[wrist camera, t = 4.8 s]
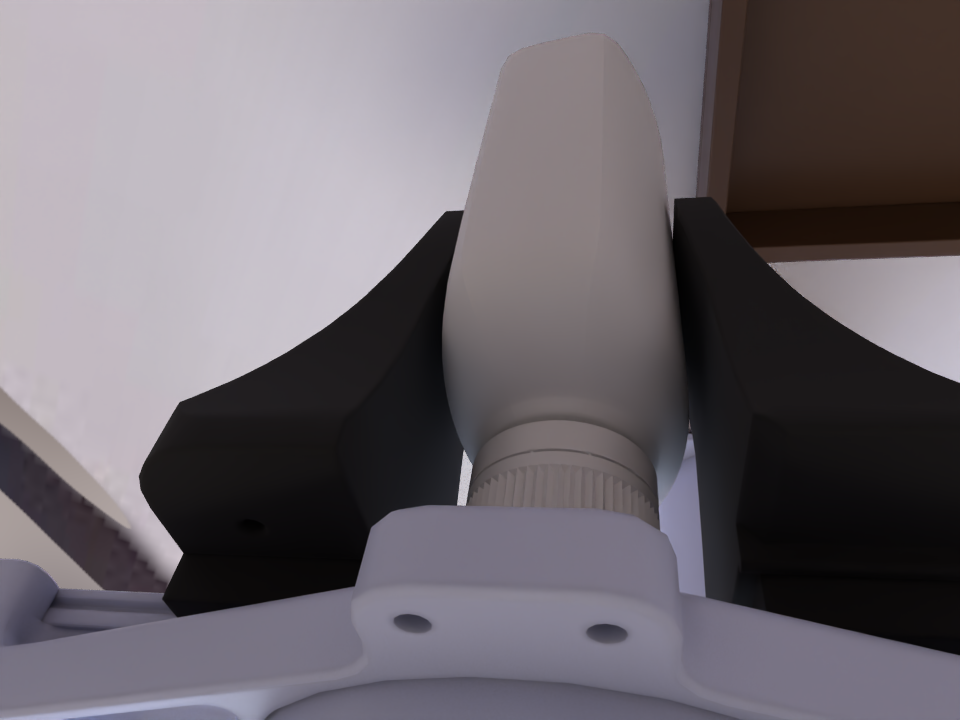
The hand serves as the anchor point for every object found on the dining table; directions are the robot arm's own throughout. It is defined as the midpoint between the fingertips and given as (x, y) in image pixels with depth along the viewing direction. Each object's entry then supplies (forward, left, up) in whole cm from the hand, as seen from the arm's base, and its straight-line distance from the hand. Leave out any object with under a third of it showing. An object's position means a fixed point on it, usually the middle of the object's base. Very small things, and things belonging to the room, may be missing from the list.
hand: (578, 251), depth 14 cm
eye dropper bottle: (0, 0, -4) cm, 4 cm away
